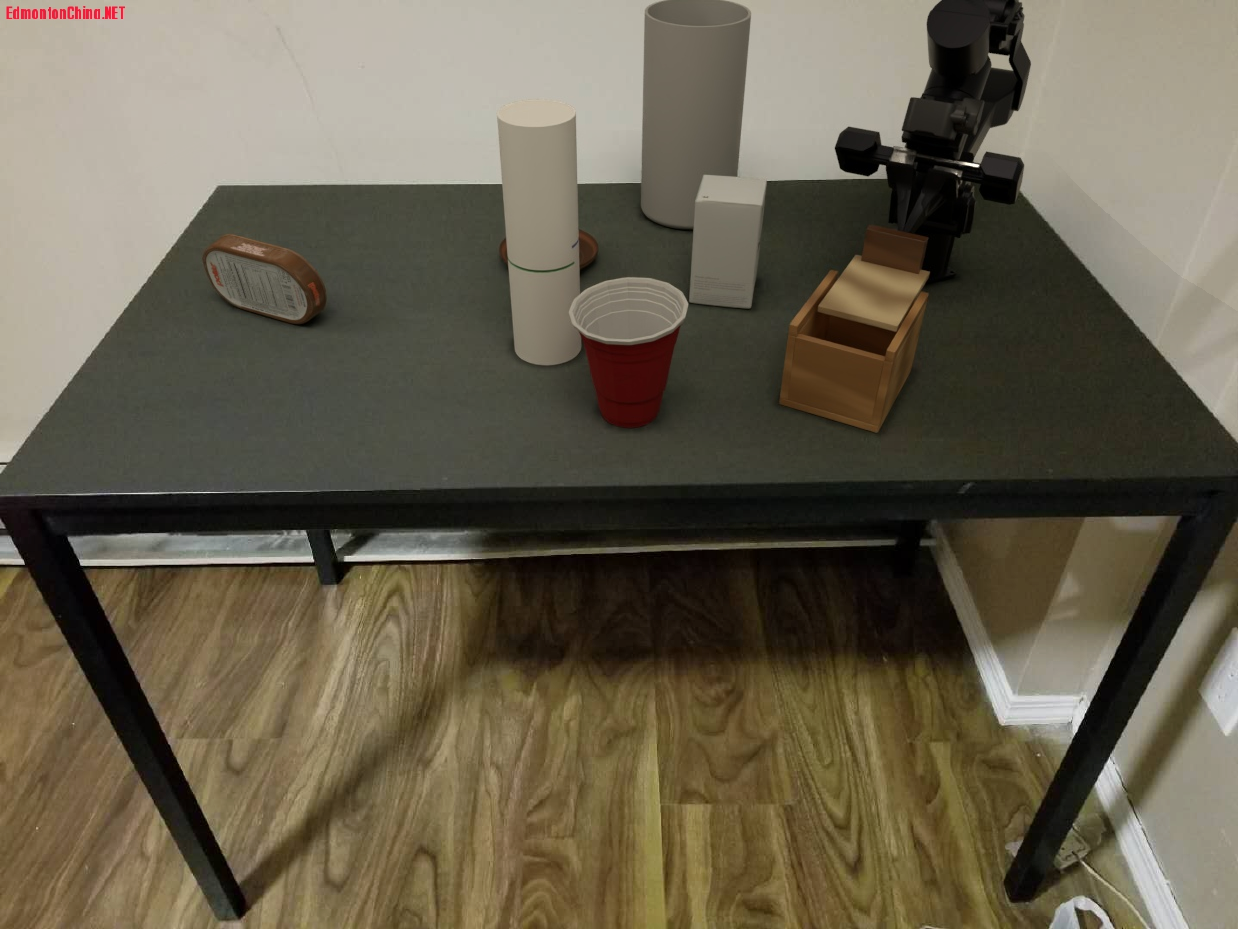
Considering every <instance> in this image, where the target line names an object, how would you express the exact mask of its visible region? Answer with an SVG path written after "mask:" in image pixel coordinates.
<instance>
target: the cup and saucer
mask: <svg viewBox="0 0 1238 929" xmlns="http://www.w3.org/2000/svg"><path fill="white" fill-rule="evenodd" d="M578 238H579V270H582V269H584V268H586V267H587V266H589V265H590V264H591V263H592V262H593V261H594V260H595V259H596V258H597V255H598V252H599V243H598V241H597V239H595V237H593V235H591V233H589V232H587V231H585V230H582V229H579V237H578ZM498 252H499V255H500V258H501V259H502V261H503V262H504V263H505V264H506V265H508V255H507V242H506V237H505V238H504V239H503V240H502V241H501V242H500V244H499V247H498Z"/></svg>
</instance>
